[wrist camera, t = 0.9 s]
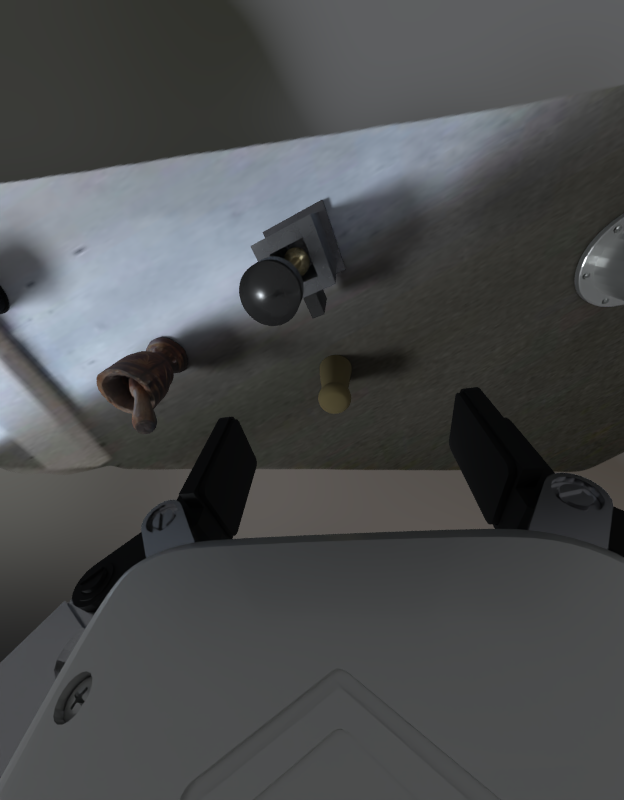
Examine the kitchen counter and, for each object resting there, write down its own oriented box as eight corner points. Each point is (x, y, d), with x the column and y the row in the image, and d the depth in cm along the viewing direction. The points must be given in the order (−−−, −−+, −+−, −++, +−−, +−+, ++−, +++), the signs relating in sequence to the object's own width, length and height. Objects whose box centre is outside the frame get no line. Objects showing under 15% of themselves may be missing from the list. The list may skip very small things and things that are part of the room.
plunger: (306, 232, 29) (282, 250, 17) (321, 272, 31) (309, 312, 20) (271, 250, 30) (227, 278, 19) (288, 287, 33) (258, 334, 21)
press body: (322, 199, 35) (315, 196, 25) (350, 282, 41) (353, 306, 31) (264, 231, 38) (237, 240, 28) (297, 305, 43) (285, 333, 34)
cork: (350, 353, 48) (352, 386, 39) (353, 381, 51) (355, 418, 42) (317, 356, 49) (311, 390, 40) (321, 384, 52) (318, 420, 43)
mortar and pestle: (192, 326, 47) (116, 388, 31) (214, 368, 52) (157, 440, 36) (138, 338, 50) (41, 402, 34) (163, 377, 54) (89, 449, 38)
